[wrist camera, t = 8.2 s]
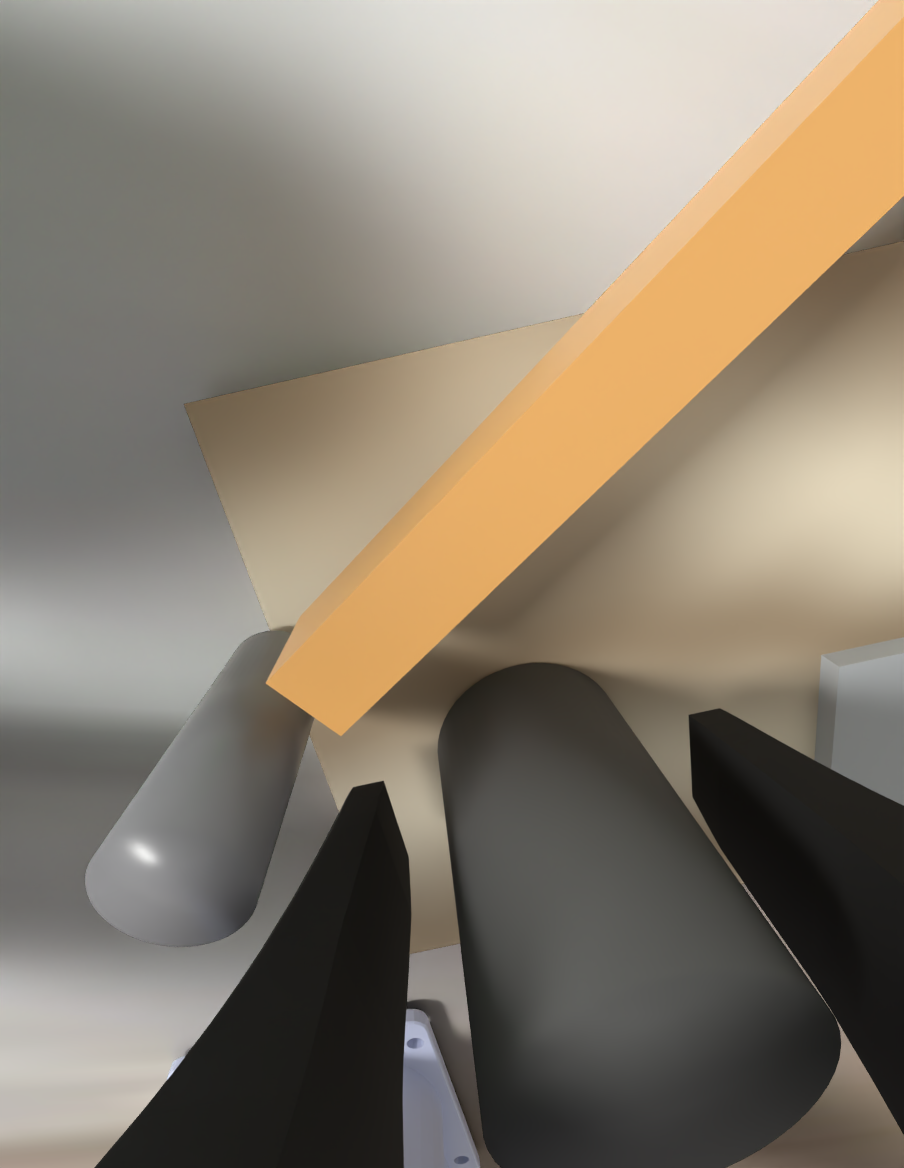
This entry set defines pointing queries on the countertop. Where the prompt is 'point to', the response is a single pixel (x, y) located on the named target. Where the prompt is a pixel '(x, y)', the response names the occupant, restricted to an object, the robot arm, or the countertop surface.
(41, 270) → the countertop surface
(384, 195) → the countertop surface
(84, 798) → the countertop surface
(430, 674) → the board
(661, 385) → the long orange wooden stick
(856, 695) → the mat
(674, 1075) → the dark gray cylinder
